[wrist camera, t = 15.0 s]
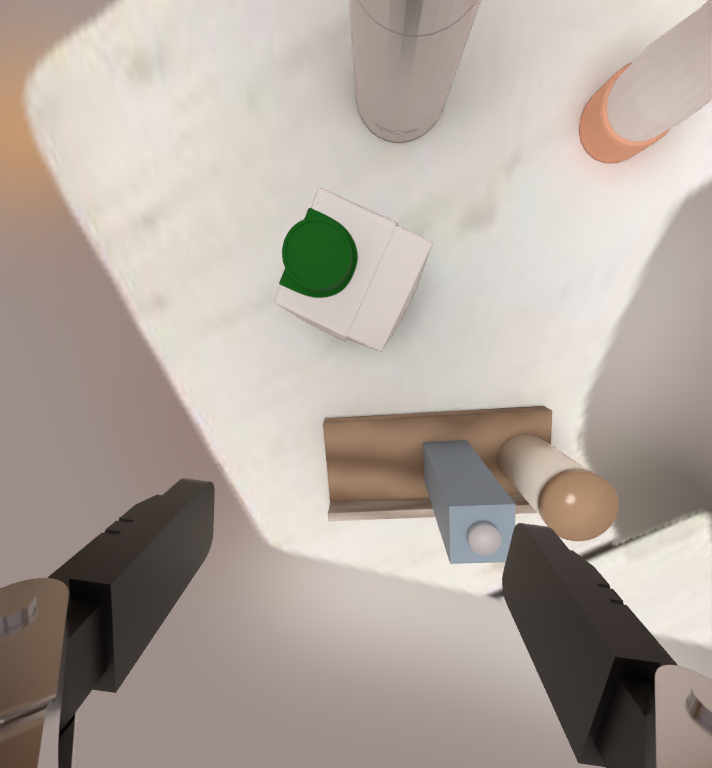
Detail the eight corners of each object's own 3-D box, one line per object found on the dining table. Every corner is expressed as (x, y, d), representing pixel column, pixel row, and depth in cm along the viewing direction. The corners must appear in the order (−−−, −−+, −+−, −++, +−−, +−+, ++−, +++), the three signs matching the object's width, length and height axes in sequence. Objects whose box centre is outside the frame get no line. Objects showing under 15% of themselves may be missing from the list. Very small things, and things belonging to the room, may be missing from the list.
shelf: (325, 418, 43) (319, 430, 38) (543, 406, 41) (564, 416, 37) (332, 500, 45) (328, 521, 40) (540, 491, 43) (560, 511, 39)
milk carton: (340, 237, 39) (307, 157, 19) (414, 272, 39) (456, 229, 19) (309, 311, 40) (250, 307, 21) (380, 344, 41) (388, 370, 21)
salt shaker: (668, 123, 35) (1009, -98, 16) (608, 179, 36) (861, 34, 18) (623, 65, 34) (927, -236, 16) (563, 124, 36) (779, -89, 17)
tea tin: (422, 441, 41) (451, 512, 26) (466, 439, 40) (519, 509, 26) (424, 482, 42) (452, 572, 27) (466, 481, 41) (518, 570, 27)
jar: (494, 436, 40) (541, 479, 29) (549, 428, 40) (617, 469, 29) (499, 486, 41) (546, 545, 30) (553, 479, 41) (620, 536, 30)
